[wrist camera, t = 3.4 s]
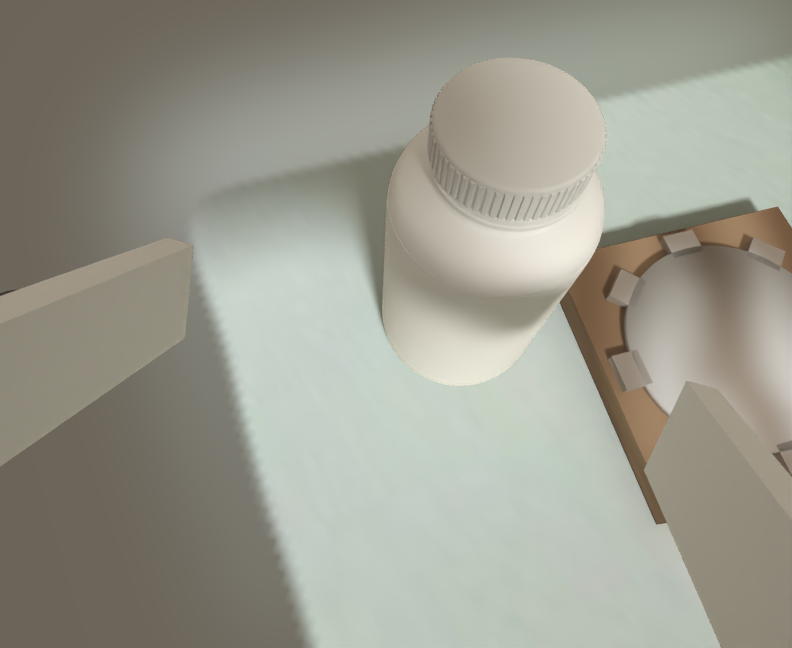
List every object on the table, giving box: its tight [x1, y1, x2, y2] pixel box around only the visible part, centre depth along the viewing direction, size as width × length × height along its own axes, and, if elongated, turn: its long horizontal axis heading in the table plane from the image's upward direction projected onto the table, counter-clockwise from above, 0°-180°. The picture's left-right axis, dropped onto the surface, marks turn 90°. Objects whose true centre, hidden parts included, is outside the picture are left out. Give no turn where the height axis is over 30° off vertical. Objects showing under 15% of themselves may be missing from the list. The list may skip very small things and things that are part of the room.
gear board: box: [560, 207, 792, 524], centre depth 29 cm, size 14×14×2 cm
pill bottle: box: [382, 58, 606, 386], centre depth 24 cm, size 8×8×15 cm
